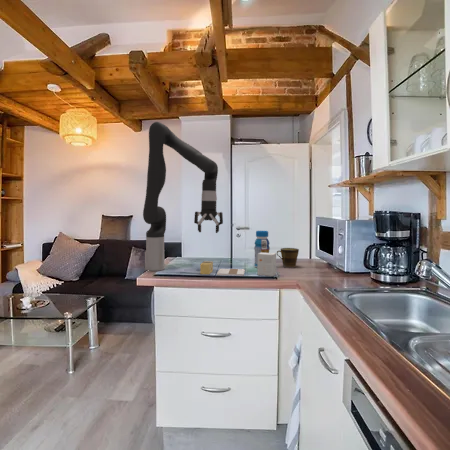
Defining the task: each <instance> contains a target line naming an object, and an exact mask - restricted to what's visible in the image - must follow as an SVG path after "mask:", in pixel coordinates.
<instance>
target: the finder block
mask: <svg viewBox="0 0 450 450" xmlns="http://www.w3.org/2000/svg"><path fill="white" fill-rule="evenodd" d="M213 271H214V262H213V261H208V260H204V261H202V263H200V271H199V272H200V275H210V274H212V272H213Z"/></svg>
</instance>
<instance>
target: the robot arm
mask: <svg viewBox="0 0 450 450" xmlns="http://www.w3.org/2000/svg"><path fill="white" fill-rule="evenodd" d="M164 145H165V146H167V147H169V148H171V149H172V150H174V151H175V152H177V154H179V155H180V156H181V157H183V158H184V160H187V161H188V162H189V163H190V164H192V165H194V166H196V167H197V169H199V170H200V171H201V172H203V173H204V177H203V180H202V182H201V183H202V184H201V185H202V186H201V190H202V191H201V200H200V201H201V204H200V205H201V209H200V211H195V212H194V219H193V221H194V224H196V225H197V231H198V233H202V223H203V222H204V221H213V223H215V233H216V234H218V233H219V231H220V225H223V224H224V218H223V212H222V211H220V212H219V211H218V212H217V200H218V197H217V195H218V194H217V180H218V179H217V178H218V174H219V173H218V172H219V169H218V164H217V163H216V161H214V160H212V159H211V158H209V157H207V156H206V155H205V154H203V153H202V152H200V150H198V149H196V148H195V147H194V146H192V145H190V144H189V143H187V142H185V141H184V140H182V139H181V138H179V137H178V136H177V135H176V134H175V133H174V132H173V131H171V129H170V128H169V127H168V126H167V125H165V124H164V123H162V122H161V121H154V122H152V124H150V127H149V129H148V146H149V147H148V149H149V150H148V161H147V162H148V163H147V164H148V165H147V177H146V191H145V192H146V193H145V198H144V205H143V210H142V211H143V212H142V219H143V221H144V222H145V223H146V224H148V225H150V227H149V229H148V230H147V231H146V233H145V236H146V237H145V240H146V241H145V244H146V245H145V247H146V250H145V251H144V270H145V271H148V272H149V271H150V272H157V271H158V272H159V271H163V270H165V234H166V230H167V214H166V213H167V212H166V210H165V208H164V207H162V206H158V205H159V197H160V194H161V192H162V190H163V188H164V186H165V183H166V175H167V164H166V161H165V157H164ZM199 216H201V218H200V219H199ZM217 216H218V217H219V221H218V219H217V218H216V217H217Z"/></svg>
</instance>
